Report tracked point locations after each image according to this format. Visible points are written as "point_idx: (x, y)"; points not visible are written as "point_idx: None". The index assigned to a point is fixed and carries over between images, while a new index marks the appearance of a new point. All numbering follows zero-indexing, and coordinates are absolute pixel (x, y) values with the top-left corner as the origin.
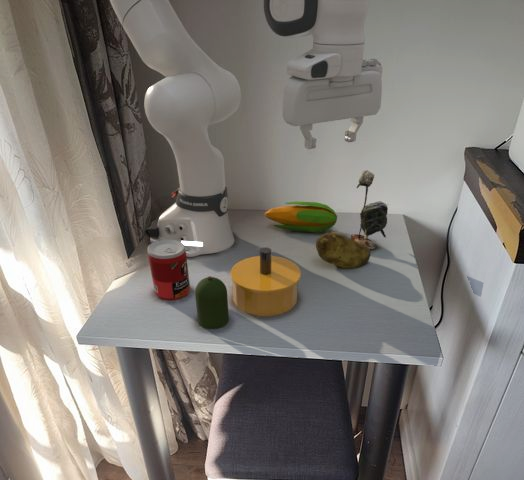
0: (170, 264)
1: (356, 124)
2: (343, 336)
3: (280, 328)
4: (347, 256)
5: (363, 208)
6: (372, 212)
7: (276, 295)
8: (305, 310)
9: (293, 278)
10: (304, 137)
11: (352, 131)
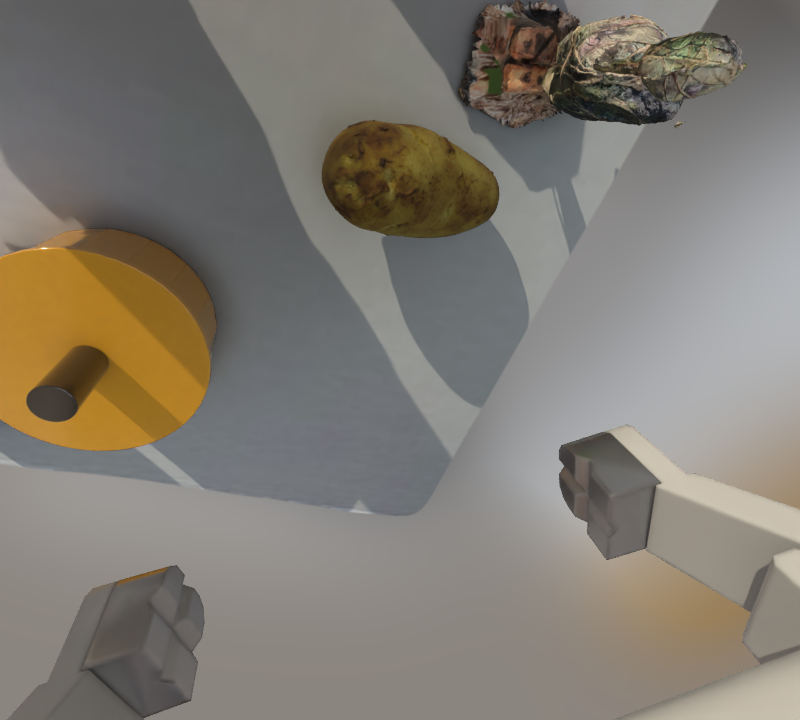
0: None
1: (742, 585)
2: (288, 464)
3: None
4: (410, 235)
5: (593, 68)
6: (607, 105)
7: None
8: (230, 377)
9: (180, 407)
10: (37, 696)
11: (653, 534)
